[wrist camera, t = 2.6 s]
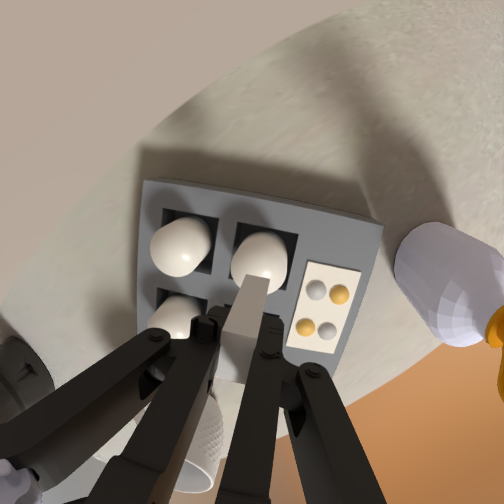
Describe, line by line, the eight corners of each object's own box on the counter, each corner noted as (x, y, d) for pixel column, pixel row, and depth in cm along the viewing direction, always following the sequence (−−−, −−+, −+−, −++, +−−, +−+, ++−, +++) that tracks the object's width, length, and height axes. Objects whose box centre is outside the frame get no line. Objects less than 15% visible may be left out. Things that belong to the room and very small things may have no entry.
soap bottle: (454, 210, 26) (638, 304, 3) (463, 284, 28) (591, 419, 5) (385, 234, 28) (551, 401, 5) (399, 309, 30) (496, 494, 7)
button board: (151, 325, 35) (136, 343, 30) (160, 177, 29) (141, 180, 25) (326, 363, 33) (329, 387, 29) (372, 218, 28) (385, 227, 24)
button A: (164, 322, 31) (147, 344, 27) (165, 287, 30) (147, 306, 25) (201, 332, 31) (189, 356, 26) (206, 297, 29) (192, 318, 25)
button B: (168, 255, 29) (148, 270, 24) (172, 211, 27) (151, 220, 23) (210, 264, 28) (196, 282, 24) (216, 219, 27) (202, 230, 23)
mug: (130, 361, 37) (85, 423, 25) (192, 343, 35) (152, 418, 22) (186, 429, 40) (161, 492, 28) (246, 419, 38) (231, 493, 25)
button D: (236, 270, 28) (226, 289, 24) (244, 225, 27) (235, 237, 23) (282, 279, 28) (280, 300, 24) (292, 234, 27) (292, 248, 22)
